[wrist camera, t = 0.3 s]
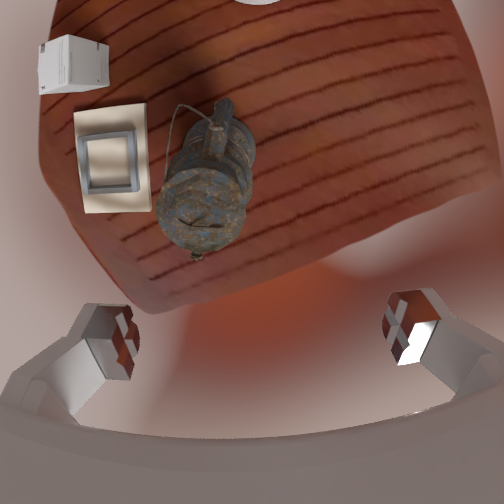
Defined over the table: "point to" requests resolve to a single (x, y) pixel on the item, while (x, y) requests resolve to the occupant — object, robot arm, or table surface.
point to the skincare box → (72, 65)
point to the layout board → (113, 158)
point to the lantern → (208, 182)
